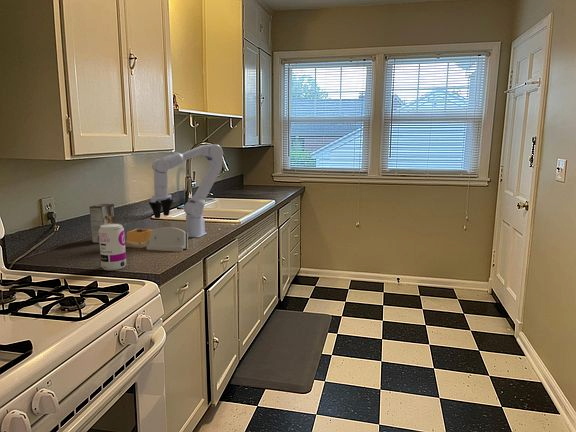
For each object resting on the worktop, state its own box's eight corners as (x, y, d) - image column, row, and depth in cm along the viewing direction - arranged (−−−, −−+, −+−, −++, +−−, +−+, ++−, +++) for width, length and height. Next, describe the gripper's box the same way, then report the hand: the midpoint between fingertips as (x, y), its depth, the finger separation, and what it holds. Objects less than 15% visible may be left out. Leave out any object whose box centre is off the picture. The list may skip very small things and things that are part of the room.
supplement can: (129, 264, 158) (127, 223, 156) (121, 270, 150) (118, 227, 148) (106, 264, 158) (103, 223, 156) (97, 271, 150) (94, 227, 148)
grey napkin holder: (145, 249, 180) (148, 225, 182) (151, 250, 185) (154, 227, 186) (182, 251, 176) (185, 227, 178) (188, 252, 181) (190, 228, 182)
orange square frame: (138, 237, 196) (137, 228, 195) (154, 238, 194) (153, 229, 193) (127, 241, 188) (126, 232, 188) (143, 242, 186) (143, 233, 186)
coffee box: (104, 238, 202) (101, 203, 199) (117, 238, 201) (114, 203, 198) (91, 242, 193) (89, 206, 191) (105, 243, 192) (102, 206, 189)
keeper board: (138, 239, 199) (138, 226, 197) (158, 240, 196) (158, 226, 195) (120, 246, 185) (119, 232, 184) (141, 247, 183) (140, 233, 182)
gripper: (161, 184, 203) (162, 213, 205) (143, 187, 189) (144, 218, 191) (175, 185, 201) (175, 214, 203) (158, 188, 187) (159, 219, 189)
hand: (161, 216), depth 197 cm, fingers open, 7 cm apart
